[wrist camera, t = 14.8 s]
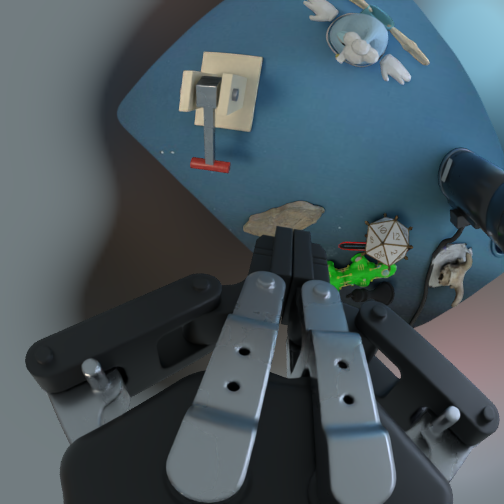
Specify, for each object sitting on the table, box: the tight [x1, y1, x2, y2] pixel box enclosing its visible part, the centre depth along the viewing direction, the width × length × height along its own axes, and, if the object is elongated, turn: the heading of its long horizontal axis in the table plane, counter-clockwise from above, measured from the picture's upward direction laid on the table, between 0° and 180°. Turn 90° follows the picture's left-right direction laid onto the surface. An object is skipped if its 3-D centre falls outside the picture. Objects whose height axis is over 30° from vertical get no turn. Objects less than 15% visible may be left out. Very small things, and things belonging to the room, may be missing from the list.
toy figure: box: [303, 0, 430, 85], centre depth 23 cm, size 17×10×15 cm, turn 54°
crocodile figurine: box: [327, 253, 397, 291], centre depth 47 cm, size 7×18×4 cm, turn 110°
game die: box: [361, 213, 413, 272], centre depth 41 cm, size 9×8×10 cm
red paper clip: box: [339, 242, 410, 251], centre depth 46 cm, size 2×14×1 cm, turn 93°
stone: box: [243, 201, 325, 237], centre depth 45 cm, size 13×3×5 cm
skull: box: [429, 243, 473, 307], centre depth 44 cm, size 10×12×6 cm
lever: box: [190, 76, 230, 173], centre depth 31 cm, size 13×5×2 cm, turn 171°
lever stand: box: [179, 52, 263, 132], centre depth 30 cm, size 11×8×13 cm
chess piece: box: [346, 282, 394, 305], centre depth 47 cm, size 4×4×10 cm
